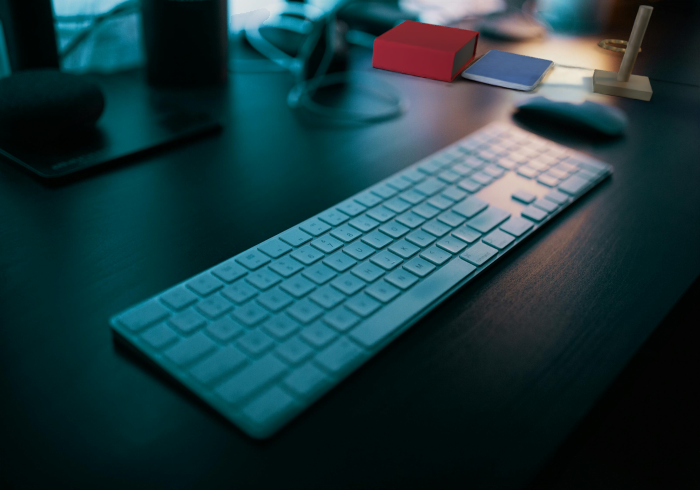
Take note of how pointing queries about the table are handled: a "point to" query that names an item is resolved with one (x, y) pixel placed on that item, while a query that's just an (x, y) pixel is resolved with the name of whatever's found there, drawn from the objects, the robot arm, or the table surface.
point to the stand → (627, 66)
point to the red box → (425, 50)
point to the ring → (605, 46)
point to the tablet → (509, 70)
